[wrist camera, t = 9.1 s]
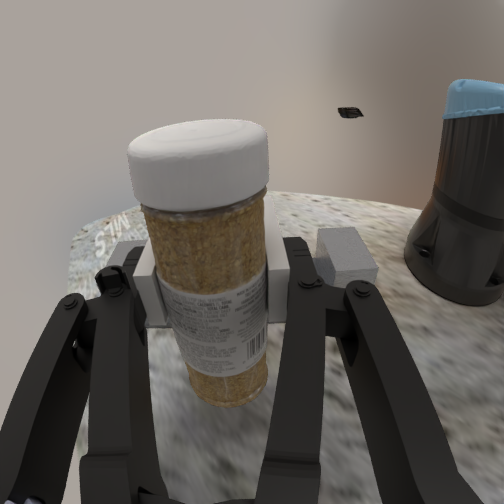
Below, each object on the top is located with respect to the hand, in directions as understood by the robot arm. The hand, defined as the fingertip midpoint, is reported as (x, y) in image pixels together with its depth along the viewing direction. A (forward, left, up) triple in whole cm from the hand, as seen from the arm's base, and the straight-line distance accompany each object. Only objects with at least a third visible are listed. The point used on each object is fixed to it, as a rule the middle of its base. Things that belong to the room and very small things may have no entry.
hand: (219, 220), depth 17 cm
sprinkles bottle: (+4, +3, -7) cm, 9 cm away
